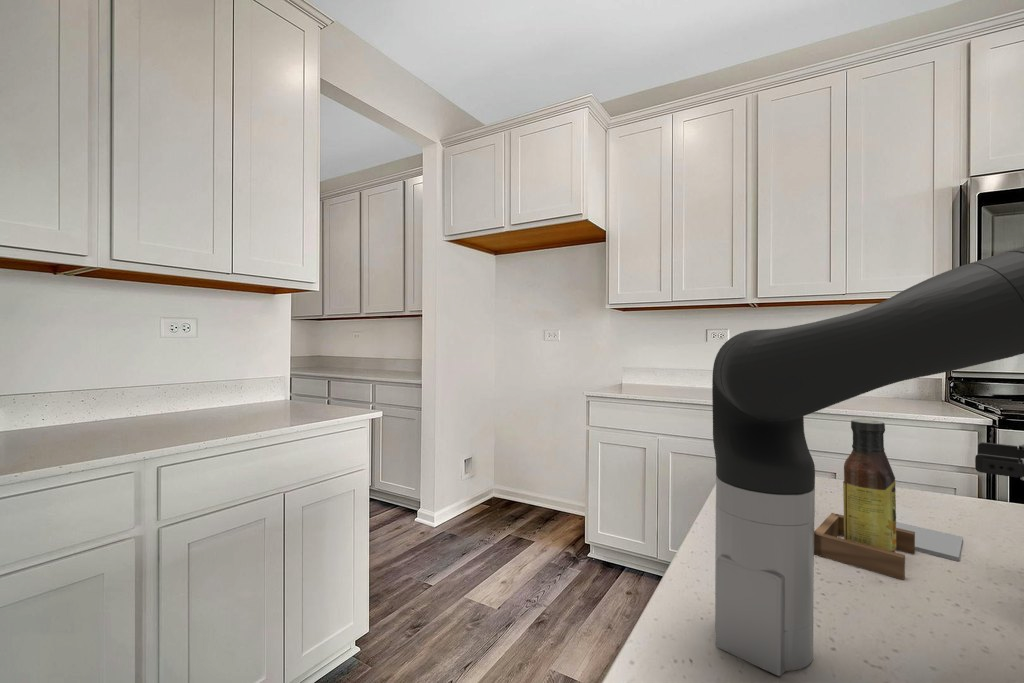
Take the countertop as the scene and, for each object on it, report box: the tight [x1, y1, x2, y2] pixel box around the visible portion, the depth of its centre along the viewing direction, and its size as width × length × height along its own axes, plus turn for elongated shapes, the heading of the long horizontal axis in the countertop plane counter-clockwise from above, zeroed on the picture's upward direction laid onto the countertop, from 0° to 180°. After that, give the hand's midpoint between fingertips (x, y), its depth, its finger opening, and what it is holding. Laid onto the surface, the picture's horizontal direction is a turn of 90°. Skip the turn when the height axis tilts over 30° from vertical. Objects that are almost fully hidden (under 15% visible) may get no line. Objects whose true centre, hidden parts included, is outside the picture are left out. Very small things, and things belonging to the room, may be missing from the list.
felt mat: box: [896, 521, 964, 562], centre depth 75 cm, size 10×9×1 cm
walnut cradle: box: [814, 512, 916, 581], centre depth 71 cm, size 12×11×3 cm
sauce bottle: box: [842, 418, 897, 552], centre depth 70 cm, size 7×6×20 cm
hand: (976, 456), depth 62 cm, fingers open, 8 cm apart
